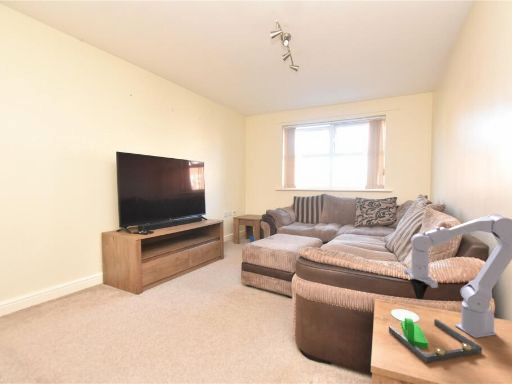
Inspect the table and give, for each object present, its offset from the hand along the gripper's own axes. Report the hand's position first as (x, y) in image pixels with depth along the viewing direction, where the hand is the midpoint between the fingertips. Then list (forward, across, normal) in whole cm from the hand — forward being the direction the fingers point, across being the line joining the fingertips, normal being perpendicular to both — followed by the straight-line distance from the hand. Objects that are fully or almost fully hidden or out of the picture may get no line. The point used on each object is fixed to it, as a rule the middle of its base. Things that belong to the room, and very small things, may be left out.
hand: (419, 297), depth 103 cm
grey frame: (+9, +12, -6) cm, 16 cm away
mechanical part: (+10, +8, -10) cm, 16 cm away
